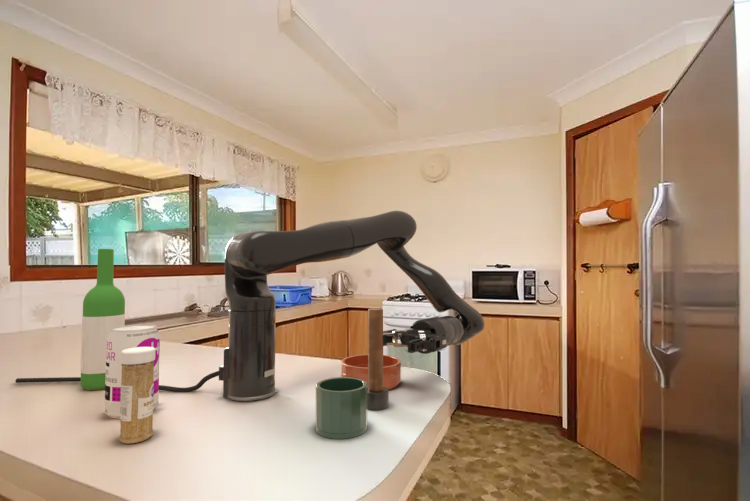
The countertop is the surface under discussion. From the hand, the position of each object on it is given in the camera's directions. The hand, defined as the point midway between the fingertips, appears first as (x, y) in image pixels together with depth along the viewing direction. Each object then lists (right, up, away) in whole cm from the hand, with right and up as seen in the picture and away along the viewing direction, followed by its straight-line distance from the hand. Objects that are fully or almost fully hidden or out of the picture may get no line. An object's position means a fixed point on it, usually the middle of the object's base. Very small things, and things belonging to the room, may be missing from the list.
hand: (391, 344), depth 78 cm
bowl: (-4, -11, +10) cm, 15 cm away
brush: (-3, -10, -5) cm, 12 cm away
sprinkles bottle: (-40, -10, -19) cm, 45 cm away
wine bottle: (-63, -11, +8) cm, 64 cm away
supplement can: (-47, -10, -7) cm, 49 cm away
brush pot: (-9, -10, -15) cm, 20 cm away
